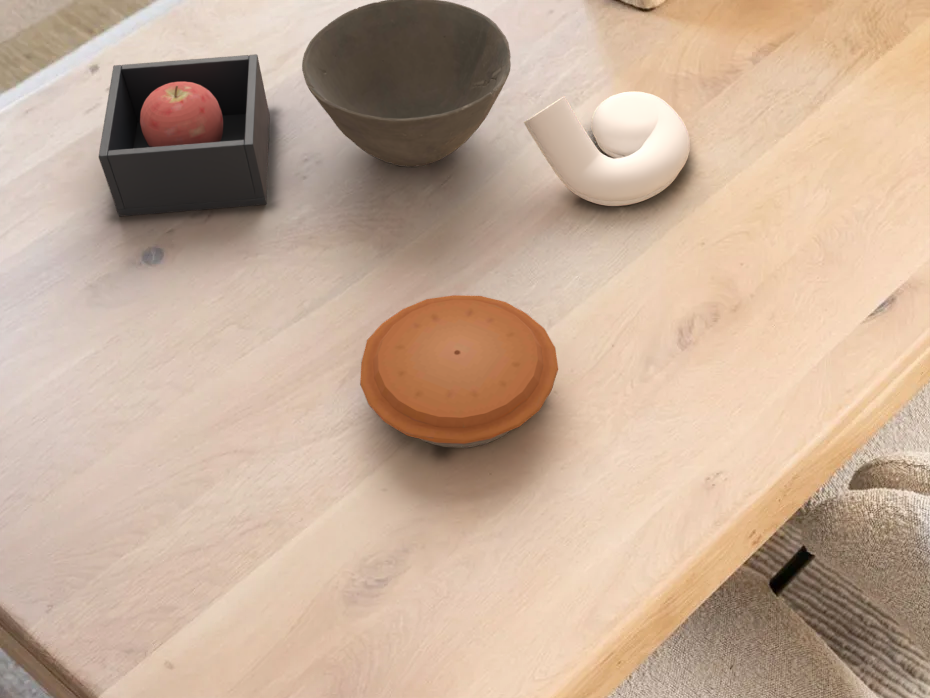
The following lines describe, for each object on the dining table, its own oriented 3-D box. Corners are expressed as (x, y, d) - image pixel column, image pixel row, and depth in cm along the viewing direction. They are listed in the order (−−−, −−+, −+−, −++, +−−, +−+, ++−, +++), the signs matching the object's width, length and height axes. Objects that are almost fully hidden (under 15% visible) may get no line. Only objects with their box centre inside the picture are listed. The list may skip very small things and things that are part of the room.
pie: (515, 305, 105) (514, 261, 101) (586, 436, 97) (589, 394, 93) (341, 355, 103) (333, 312, 99) (398, 495, 94) (392, 454, 90)
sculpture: (720, 151, 117) (731, 79, 110) (619, 233, 110) (624, 161, 104) (620, 100, 122) (625, 28, 116) (519, 175, 116) (517, 103, 109)
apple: (233, 130, 120) (216, 58, 113) (229, 179, 115) (211, 107, 109) (156, 136, 120) (135, 63, 113) (149, 185, 115) (127, 113, 109)
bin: (118, 216, 114) (98, 156, 109) (131, 125, 122) (113, 65, 117) (266, 204, 114) (253, 144, 109) (269, 114, 123) (257, 53, 117)
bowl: (477, 228, 112) (472, 136, 104) (286, 189, 116) (268, 98, 108) (538, 105, 122) (538, 13, 114) (362, 73, 126) (350, -18, 118)
